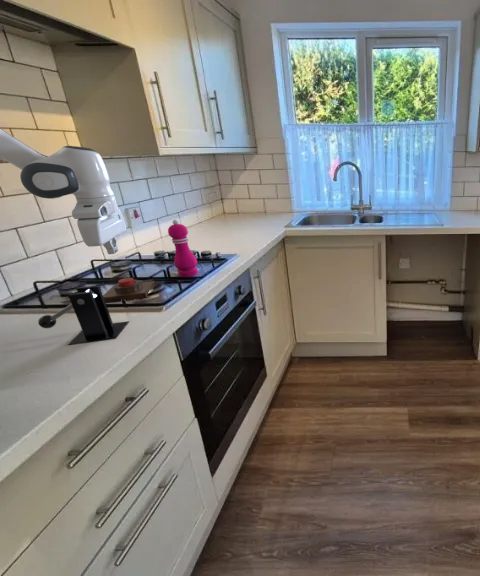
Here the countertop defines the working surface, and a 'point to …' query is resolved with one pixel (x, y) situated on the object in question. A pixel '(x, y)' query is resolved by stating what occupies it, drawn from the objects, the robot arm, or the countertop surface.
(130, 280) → the button
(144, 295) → the button block
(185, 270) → the pepper mill
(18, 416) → the countertop surface
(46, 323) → the lever
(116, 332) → the bracket
